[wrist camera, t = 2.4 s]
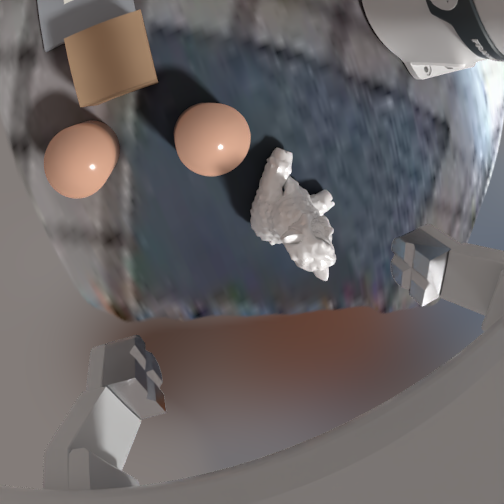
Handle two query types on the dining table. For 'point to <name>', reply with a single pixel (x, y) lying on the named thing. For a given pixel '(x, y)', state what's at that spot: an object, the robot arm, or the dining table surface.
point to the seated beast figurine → (293, 216)
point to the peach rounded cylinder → (81, 158)
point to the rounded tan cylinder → (211, 138)
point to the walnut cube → (110, 59)
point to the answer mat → (76, 17)
